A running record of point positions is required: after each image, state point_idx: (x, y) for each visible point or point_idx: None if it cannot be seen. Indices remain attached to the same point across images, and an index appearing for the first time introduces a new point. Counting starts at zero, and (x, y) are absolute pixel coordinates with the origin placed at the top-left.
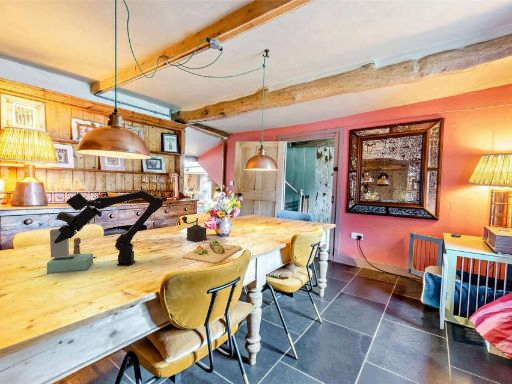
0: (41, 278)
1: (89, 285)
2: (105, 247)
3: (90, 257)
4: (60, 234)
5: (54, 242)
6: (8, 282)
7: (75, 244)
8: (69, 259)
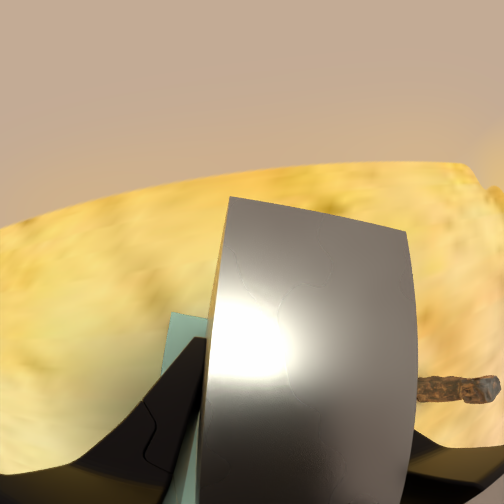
0: (117, 307)
1: None
2: (477, 446)
3: None
4: (104, 448)
5: (190, 343)
6: (137, 199)
7: (461, 386)
8: (195, 434)
